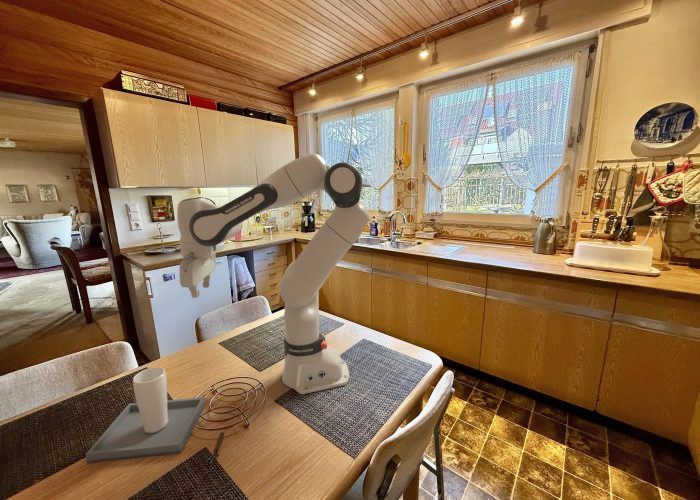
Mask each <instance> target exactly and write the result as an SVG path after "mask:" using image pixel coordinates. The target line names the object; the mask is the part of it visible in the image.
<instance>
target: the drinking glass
mask: <svg viewBox="0 0 700 500" xmlns="http://www.w3.org/2000/svg"><path fill="white" fill-rule="evenodd" d="M167 380H168V379H167V374H166V370H165V368H163V367H160V366H159V367H158V366H157V367H156V366H154V367H149V368H146V369H143V370H141V371H139V372H138V373H136V374H135V375H134V376H133V378H132V386H133V393H134V397H135V398H134V399H135V401H136V403H137V405H138V408H139V412H140V415H141V419H142V422H143V428H144V431H145V432H147V433H155V432H157V431H160V430H161V429H163V428H164V427H165V426H166V425H167V423H168V408H167V400H168V383H167V382H168V381H167Z"/></svg>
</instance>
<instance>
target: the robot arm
mask: <svg viewBox="0 0 700 500" xmlns="http://www.w3.org/2000/svg"><path fill="white" fill-rule="evenodd" d="M362 189H363V177H362V175H361V171H359V169H358V168H357V167H356V166H355V165H354V164H352V163H349V162H346V161H345V162H344V161H343V162H337V163H334V164H333V165H331V166H330V165H329V164H328V163H327V161H326V160H325V158H323V157H322V155H320V154H317V153H313V152H312V153H308V154H305V155H302V156H300V157H298V158H296V159H293V160H291V161H289V162H288V163H286V164H284V165H282V166H281V167H280V168H278V169H277V170H275V171H273V173H271V174H270V175H269V176H267V177H266V178H265V179H263V180H262V181H261V182H259V184H257V185H256V186H254V187H253V188H251V189H250V190H249V191H247V192H245V193H244V194H241V195H240V196H238V197H236V198H235V199H233V200H231V201H229V202H227V203H225V204H223V205H222V206H220V205H217V204H214V203H213V202H211V201H209V200H208V199H207V198H205V197H201V196H199V197H190V198H186V199H185V198H184V199H182V200H181V201H180V202H178V204H177V212H176V213H177V215H176V216H177V227H178V230H179V232H180V233H179V234H180V238H179V243H180V255H181V258H183V260H182V261H181V262H180V264H179V284H180V286H181V287H182V288H188V289H189V292H190V294H191V297H192V298H193V299H196V298H198V297H200V290H198V284H199V283H200V282H201V281H203V282H202V287H203V288H205V289H207V288H209V287H210V286H211V275H212V273H213V272H215V270H216V266H217V259H216V252H217V246H218V245H219V244H221V243H222V242H226V241H227V240H230V239H232V238H235V237H236V236H237V235H238V234H240V232H241V230H242V229H243V223H244V222H245V221H247V220H248V219H250V218H252V217H254V216H256V215H257V214H259V213H262V212H265V211H269V210H273V209H281V208H284V207H287V206H290V205H292V204H295V203H297V202H300V201H301V200H303V199H305V198H306V197H307V196H309V195H311V194H313V193H315V192H318V191H323V192H325V193H326V194H327V195H328V196H329V197H330V198H331V200H332V202H333V203H334V205H335V207H334V210H333V212H331V215H330V216H329V217H328V219H326V220H325V222H324V223H323V225H322V226H320V228H319V229H318V231H317V232H315V234H314V236H313V237H312V238H311V239H310V241H309V242H307V244H306V246H305V247H304V249H303V250H302V251H301V252H300V254H299V255H298V256H297V258H296V259H294V261H292V262H291V263H289V264H288V266H287V268H286V270H285V272H284V274H283V275H282V277H281V279H280V282H279V294H280V297H281V300H282V301H283V302H284V313H283V315H284V316H283V317H284V319H283V320H284V323H283V324H284V337H283V354H284V365H283V371H282V375H281V381H282V383H283V384H284V386H287V387H289V388H291V389H294V390H295V391H296V392H297V393H298V394H299V395H300V394H301V395H305V394H310V393H313V392H320V391H323V390H327V389H332V388H337V387H341V386H345V385H347V384H348V381H349V378H350V371H349V367H348V364H347V362H345V360H343V359H342V357H341V354H340V353H339V351H338V350H337V349H336V348H334V347H332V346H330V345H329V344H328V343H327V341H326V336H325V335H324V333H323V332H322V334H321V333H320V316H319V312H320V311H319V307H320V306H319V303H320V301H319V299H320V298H319V296H320V295H319V293H320V290H321V288H322V287H323V285H324V284H325V283H326V281H327V280H328V278H329V276H331V274H332V272H333V270H334V269H335V268H336V266H337V265H338V264H339V262H340V261H341V260H342V259H343V258H344V257H345V255H346V254H347V252H349V250H350V249H351V248H352V247H353V245H354V244H355V243H356V242H357V240H358V239H359V237H360V236H361V235H362V233H363V232H364V230H365V228H366V226H367V225H368V223H369V220H370V215H369V212H368V211H367V208H366V207H365V206H364V205H363V204H362V203H361V202H360V199H361V193H362Z"/></svg>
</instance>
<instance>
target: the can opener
mask: <svg viewBox="0 0 700 500" xmlns="http://www.w3.org/2000/svg"><path fill="white" fill-rule="evenodd" d="M224 438H225V432H224V431H222V432H220V433H219V436H218V438H217V441H216V445H215V447H214V448H213V449H214V450H213V453H212V454H211V455H210V456H209V457H210V462H209V465H210V466H211V465H212V466H213V462H214V461H215V459H218V458H219V456H220V454H219V450H220V448H221V445H222V443H223V440H224Z"/></svg>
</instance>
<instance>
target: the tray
mask: <svg viewBox="0 0 700 500" xmlns="http://www.w3.org/2000/svg"><path fill="white" fill-rule="evenodd" d="M205 406H206V398H205V396H202V397H193V398H192V397H191V398H189V397H188V398H179V399H178V398H177V399H167V408H168V423H167V425H166V426H165V427H164V428H163V429H161V430H160V431H157V432H155V433H147V432H145V431H144V428H143V422H142V419H141V415H140V412H139V408H138V405H137V402H133V403H128V405H127V406H126V407H125V408H124V409H123V410H122V412H120V414H118V416H117V417H116V418H115V420H114V421H113V422H112V423H111V424H110V425H109V427H107V429H106V430H105V431H104V432H103V433H102V434H101V435H100V437H99V438H97V440H96V441H95V443H94V444H93V445H92V446H91V447H90V449H89V450H88V451H87V452H86V453H85V454H84V456H85V459H86V464H87V465H88V464H89V465H90V464H96V463H98V464H99V463H107V462H115V461H116V462H117V461H124V460H125V461H126V460H133V459H134V460H135V459H143V458H144V459H145V458H150V457H159V456H160V457H161V456H169V455H170V456H171V455H178V454H182V453H183V450H184V449H185V446H186V445H187V442H188V441H189V438H190V437H191V435H192V433H193V430H194V428H195V427H196V425H197V423H198V421H199V418H200V416H201V414H202V413H203V410H204V408H205Z"/></svg>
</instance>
